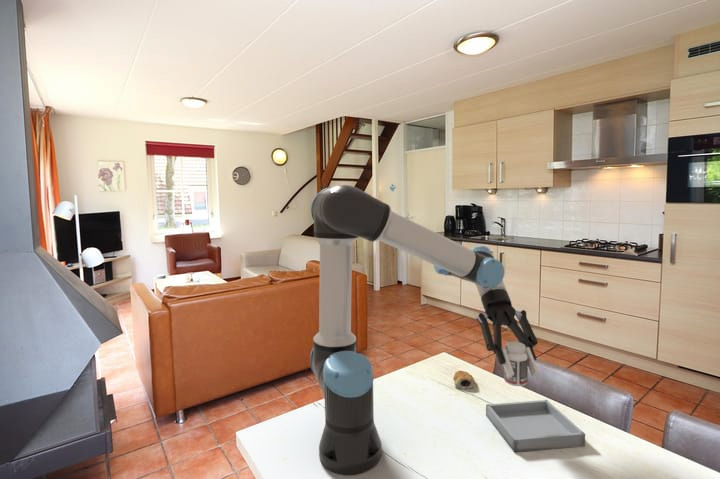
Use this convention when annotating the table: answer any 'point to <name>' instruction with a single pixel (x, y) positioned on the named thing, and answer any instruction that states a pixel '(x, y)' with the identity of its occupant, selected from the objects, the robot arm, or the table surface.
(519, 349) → the pill bottle
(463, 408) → the table surface
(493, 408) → the tray
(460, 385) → the pastry
